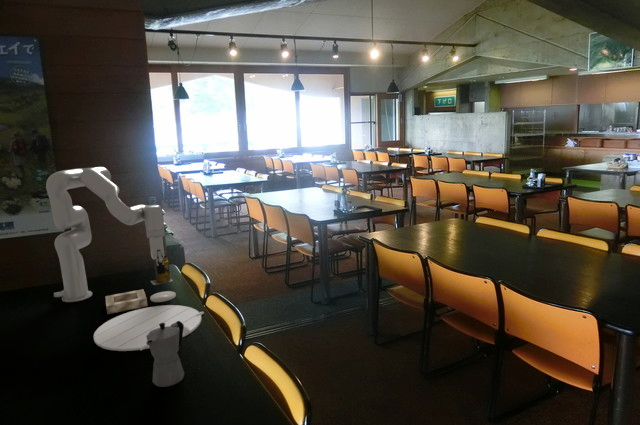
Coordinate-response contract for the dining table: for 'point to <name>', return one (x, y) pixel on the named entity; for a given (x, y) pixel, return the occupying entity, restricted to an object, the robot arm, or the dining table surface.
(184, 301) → the dining table surface
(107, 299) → the holder
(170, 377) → the coffeepot
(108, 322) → the lazy susan
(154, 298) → the coaster
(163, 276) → the condiment
